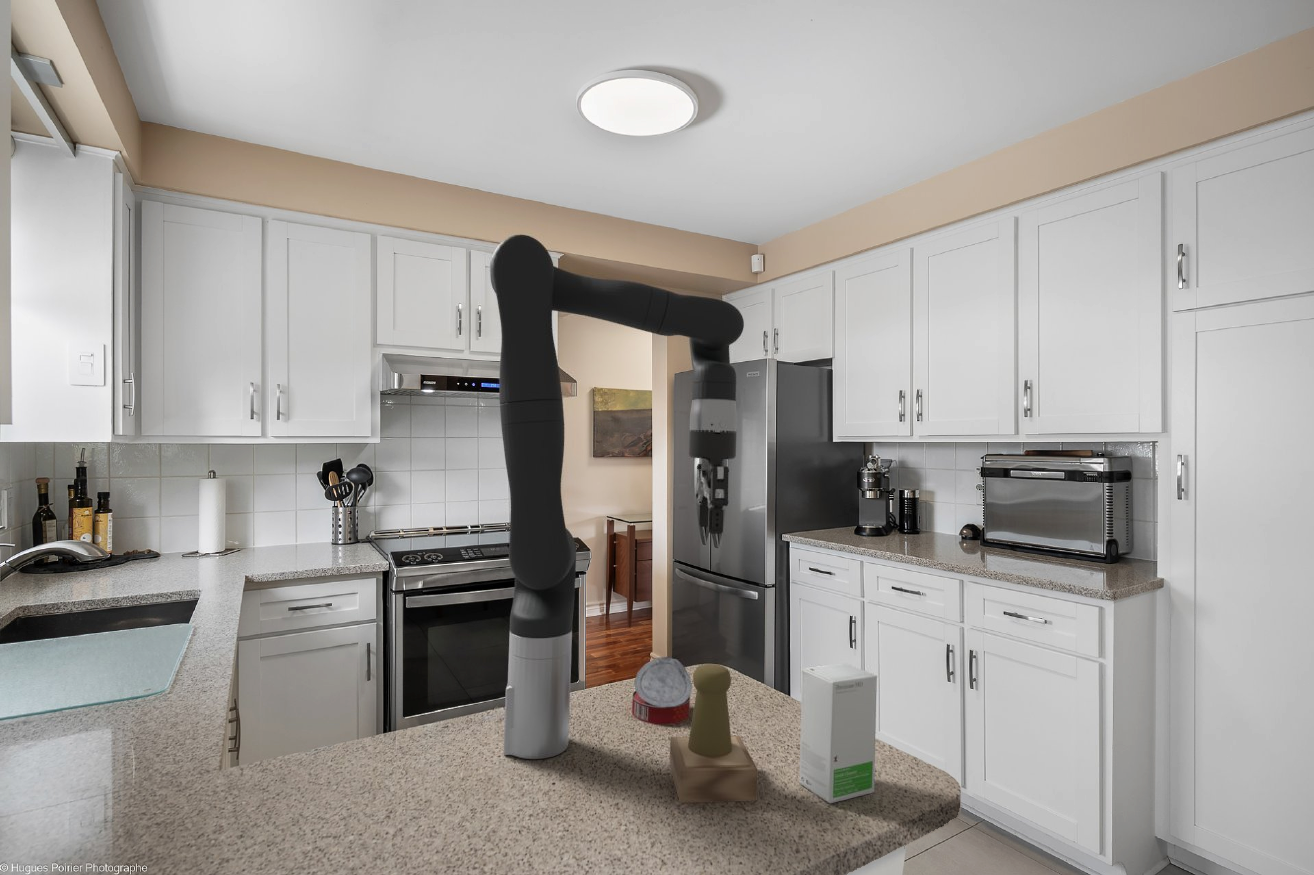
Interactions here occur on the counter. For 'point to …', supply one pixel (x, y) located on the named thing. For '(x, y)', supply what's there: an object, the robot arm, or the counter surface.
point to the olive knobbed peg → (711, 712)
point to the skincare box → (838, 731)
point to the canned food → (662, 692)
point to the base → (713, 773)
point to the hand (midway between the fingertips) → (710, 530)
